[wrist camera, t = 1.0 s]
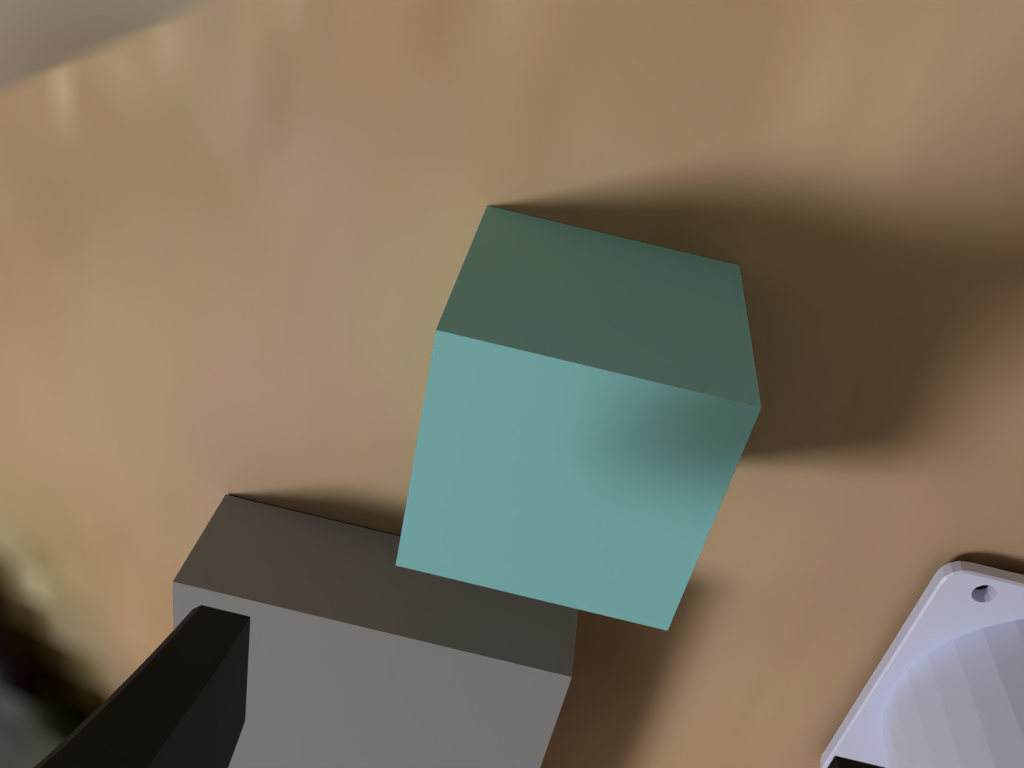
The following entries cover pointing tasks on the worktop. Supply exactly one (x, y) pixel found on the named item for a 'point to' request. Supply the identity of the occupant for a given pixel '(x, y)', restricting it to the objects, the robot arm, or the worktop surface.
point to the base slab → (375, 649)
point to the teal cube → (580, 418)
